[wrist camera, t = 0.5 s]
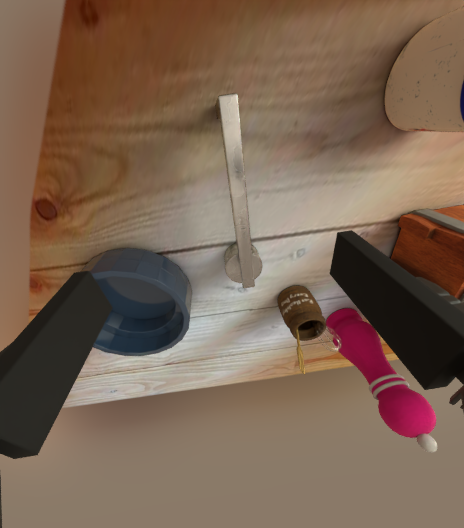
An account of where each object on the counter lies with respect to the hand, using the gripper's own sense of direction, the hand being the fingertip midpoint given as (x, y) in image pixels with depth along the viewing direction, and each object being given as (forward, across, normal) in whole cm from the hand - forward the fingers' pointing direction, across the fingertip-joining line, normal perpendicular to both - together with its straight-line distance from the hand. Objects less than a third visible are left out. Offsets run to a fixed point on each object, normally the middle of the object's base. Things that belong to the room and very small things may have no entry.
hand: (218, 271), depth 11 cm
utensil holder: (+16, +11, -20) cm, 28 cm away
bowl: (+16, -13, -13) cm, 25 cm away
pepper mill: (+16, +21, -28) cm, 38 cm away
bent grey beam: (+16, +2, -2) cm, 17 cm away
